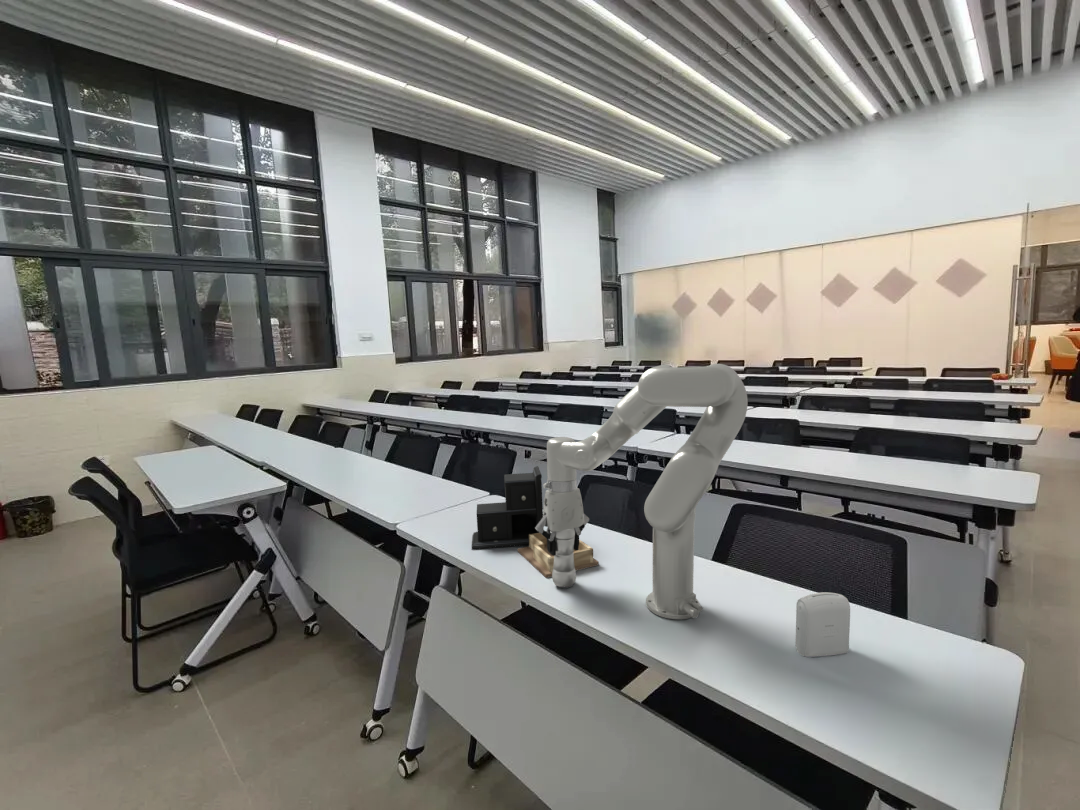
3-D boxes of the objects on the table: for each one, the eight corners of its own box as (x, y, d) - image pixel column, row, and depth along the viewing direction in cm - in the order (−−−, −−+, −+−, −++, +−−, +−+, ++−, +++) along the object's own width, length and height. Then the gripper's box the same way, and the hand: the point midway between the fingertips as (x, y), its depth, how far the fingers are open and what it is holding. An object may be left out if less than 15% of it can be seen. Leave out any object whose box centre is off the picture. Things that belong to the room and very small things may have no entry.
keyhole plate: (598, 564, 146) (598, 548, 145) (546, 577, 139) (545, 560, 138) (565, 541, 164) (565, 526, 163) (517, 551, 156) (517, 536, 156)
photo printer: (804, 659, 101) (806, 601, 99) (791, 647, 105) (793, 590, 103) (852, 655, 102) (855, 597, 100) (837, 643, 106) (840, 587, 104)
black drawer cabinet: (471, 550, 159) (468, 477, 156) (472, 537, 169) (469, 469, 167) (544, 545, 161) (542, 474, 158) (541, 533, 172) (539, 465, 169)
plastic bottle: (575, 578, 138) (573, 507, 135) (577, 590, 131) (576, 516, 129) (551, 579, 137) (549, 508, 135) (553, 591, 131) (551, 517, 128)
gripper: (538, 493, 124) (540, 563, 126) (598, 483, 131) (598, 549, 133) (525, 486, 131) (527, 552, 133) (583, 477, 138) (584, 540, 140)
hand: (563, 550), depth 133 cm, fingers closed on plastic bottle, 6 cm apart
